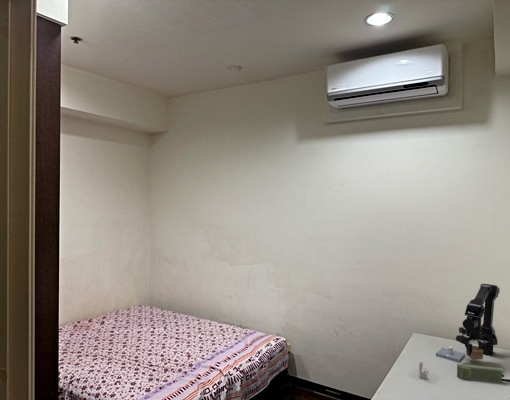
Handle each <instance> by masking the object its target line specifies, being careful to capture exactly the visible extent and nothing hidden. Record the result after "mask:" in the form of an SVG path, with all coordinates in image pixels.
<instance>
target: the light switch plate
mask: <svg viewBox="0 0 510 400" xmlns="http://www.w3.org/2000/svg"><path fill="white" fill-rule="evenodd" d="M435 357H439V358H442V359H446V360H449V361H453V362H456V363H460V362H461V361H463V360H464V358H465V357H466V353H464V352H461V351H456V350H454V348H453V346H448V348H446V347H441V348H440V349H439V350H437V352H435Z"/></svg>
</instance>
